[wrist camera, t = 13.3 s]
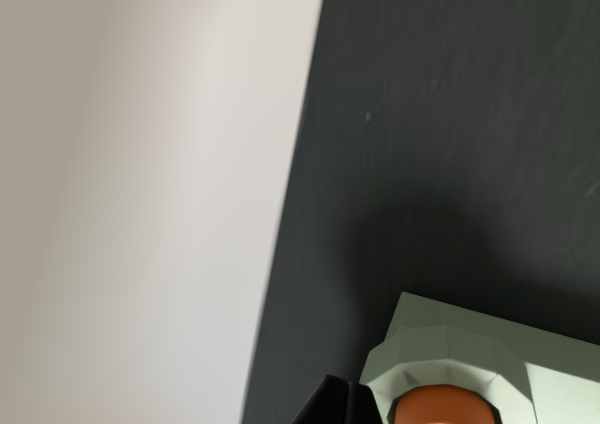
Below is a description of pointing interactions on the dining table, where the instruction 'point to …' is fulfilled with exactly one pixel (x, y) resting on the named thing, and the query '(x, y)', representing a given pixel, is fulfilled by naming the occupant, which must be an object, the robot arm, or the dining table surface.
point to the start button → (442, 406)
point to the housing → (485, 364)
